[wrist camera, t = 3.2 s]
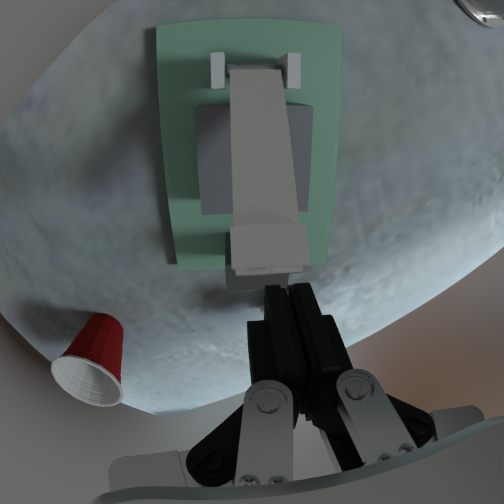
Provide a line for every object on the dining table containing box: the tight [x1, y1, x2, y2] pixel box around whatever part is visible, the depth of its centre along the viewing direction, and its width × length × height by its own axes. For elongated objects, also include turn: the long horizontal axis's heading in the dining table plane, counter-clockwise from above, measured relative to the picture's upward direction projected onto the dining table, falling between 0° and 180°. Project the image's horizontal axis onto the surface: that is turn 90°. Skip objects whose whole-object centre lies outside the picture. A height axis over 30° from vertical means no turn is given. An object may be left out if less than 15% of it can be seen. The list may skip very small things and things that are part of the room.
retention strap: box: [227, 64, 310, 276], centre depth 19 cm, size 17×4×2 cm
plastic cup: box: [51, 313, 123, 406], centre depth 36 cm, size 11×11×12 cm
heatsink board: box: [156, 18, 342, 290], centre depth 26 cm, size 28×18×8 cm, turn 0°
